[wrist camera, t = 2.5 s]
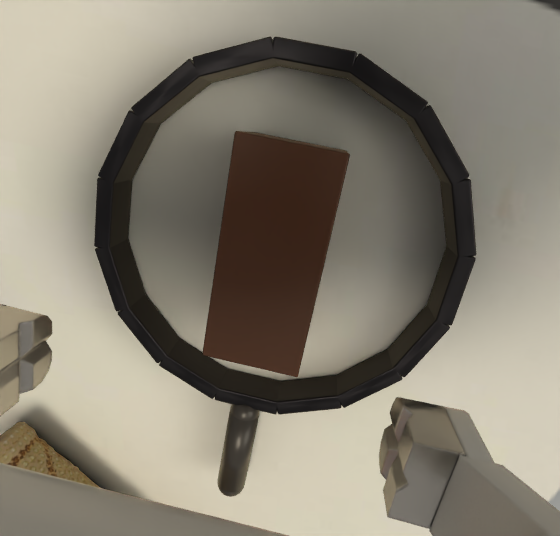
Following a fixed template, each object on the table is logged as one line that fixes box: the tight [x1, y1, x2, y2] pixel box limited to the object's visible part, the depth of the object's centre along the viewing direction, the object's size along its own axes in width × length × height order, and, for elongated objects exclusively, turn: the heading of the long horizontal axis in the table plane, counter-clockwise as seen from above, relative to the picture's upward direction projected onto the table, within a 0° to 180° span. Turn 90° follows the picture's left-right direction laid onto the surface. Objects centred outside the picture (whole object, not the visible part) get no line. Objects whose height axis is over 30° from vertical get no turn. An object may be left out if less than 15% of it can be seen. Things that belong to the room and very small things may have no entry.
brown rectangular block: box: [203, 131, 350, 377], centre depth 19 cm, size 10×4×4 cm, turn 169°
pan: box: [94, 37, 476, 496], centre depth 21 cm, size 24×18×2 cm
